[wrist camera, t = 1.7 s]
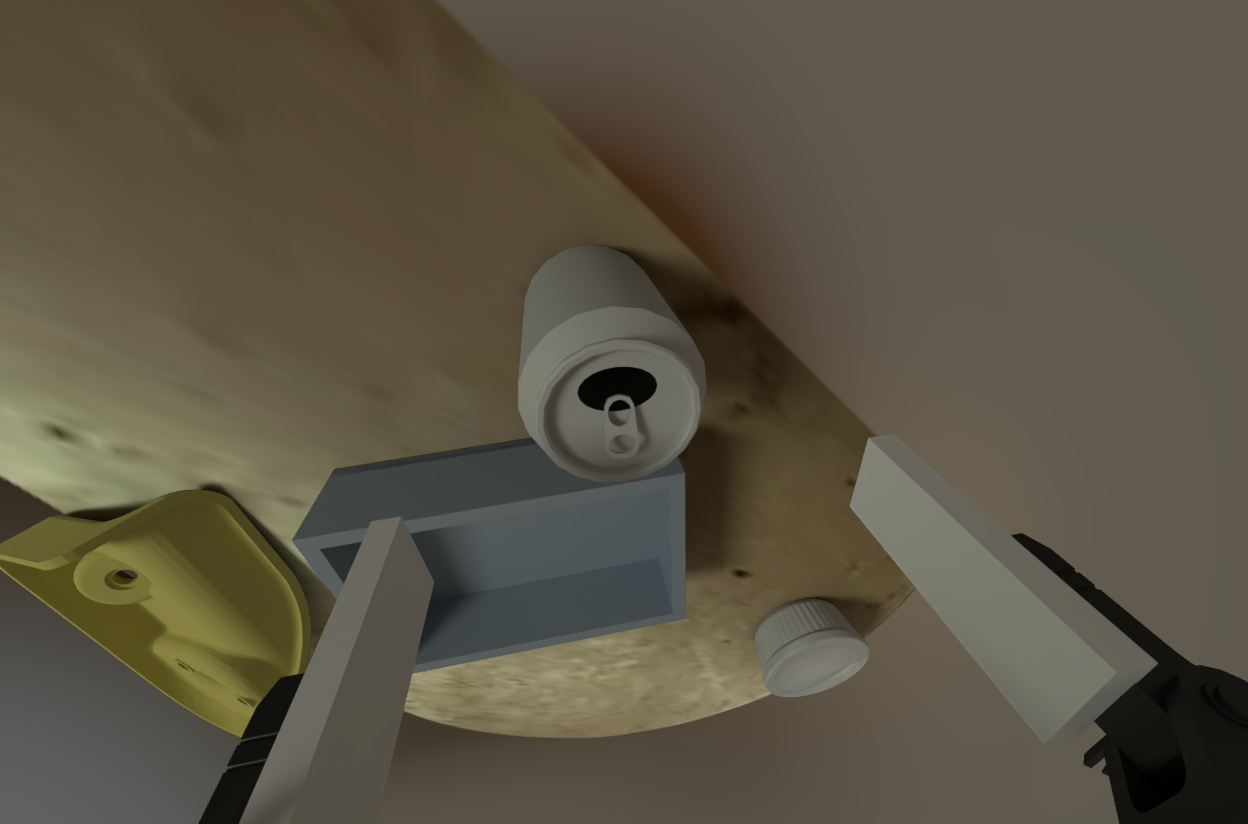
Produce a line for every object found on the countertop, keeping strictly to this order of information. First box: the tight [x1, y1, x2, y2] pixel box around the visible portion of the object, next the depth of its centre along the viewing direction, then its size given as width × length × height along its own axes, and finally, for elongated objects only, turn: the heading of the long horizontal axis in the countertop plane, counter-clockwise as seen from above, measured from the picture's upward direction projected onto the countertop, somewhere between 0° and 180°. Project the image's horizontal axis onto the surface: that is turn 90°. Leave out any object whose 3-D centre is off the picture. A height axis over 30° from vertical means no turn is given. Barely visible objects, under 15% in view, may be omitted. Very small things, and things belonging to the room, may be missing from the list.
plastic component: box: [0, 490, 311, 737], centre depth 32 cm, size 20×7×10 cm
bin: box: [292, 438, 686, 674], centre depth 32 cm, size 15×22×6 cm
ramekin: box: [755, 598, 870, 697], centre depth 47 cm, size 11×11×5 cm
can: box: [518, 245, 707, 482], centre depth 21 cm, size 8×8×12 cm
